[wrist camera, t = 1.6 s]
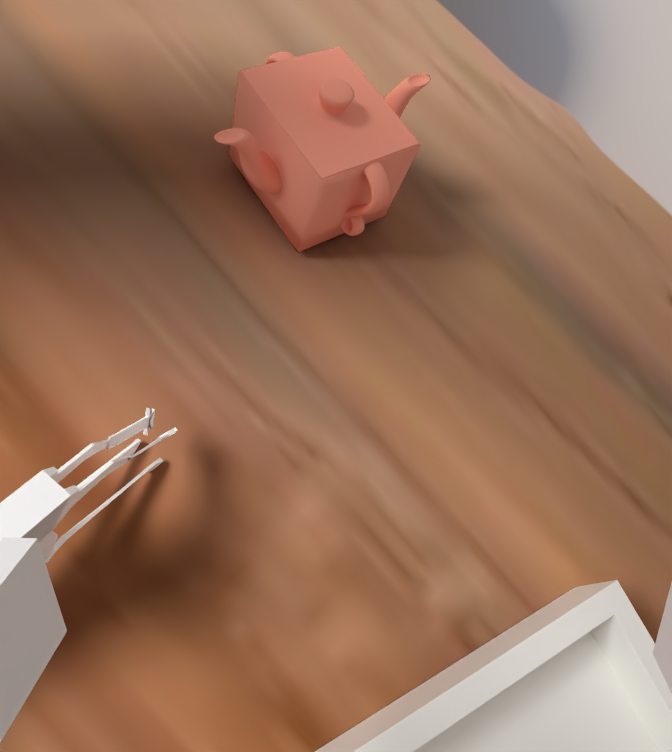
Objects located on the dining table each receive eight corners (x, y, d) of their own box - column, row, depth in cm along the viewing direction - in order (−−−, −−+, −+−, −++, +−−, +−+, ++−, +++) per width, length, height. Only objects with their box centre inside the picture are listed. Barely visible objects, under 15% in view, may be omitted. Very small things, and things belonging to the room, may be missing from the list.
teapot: (439, 223, 42) (497, 131, 34) (257, 304, 35) (281, 212, 28) (344, 104, 44) (380, -5, 37) (159, 159, 38) (157, 40, 31)
